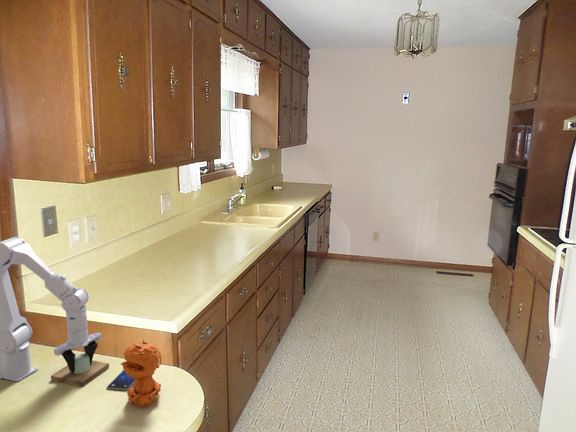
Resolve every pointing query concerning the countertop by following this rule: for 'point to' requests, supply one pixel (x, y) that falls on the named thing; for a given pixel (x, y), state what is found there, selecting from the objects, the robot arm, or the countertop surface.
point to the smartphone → (121, 382)
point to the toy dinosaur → (142, 372)
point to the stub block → (80, 374)
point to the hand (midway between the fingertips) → (80, 367)
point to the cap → (82, 363)
